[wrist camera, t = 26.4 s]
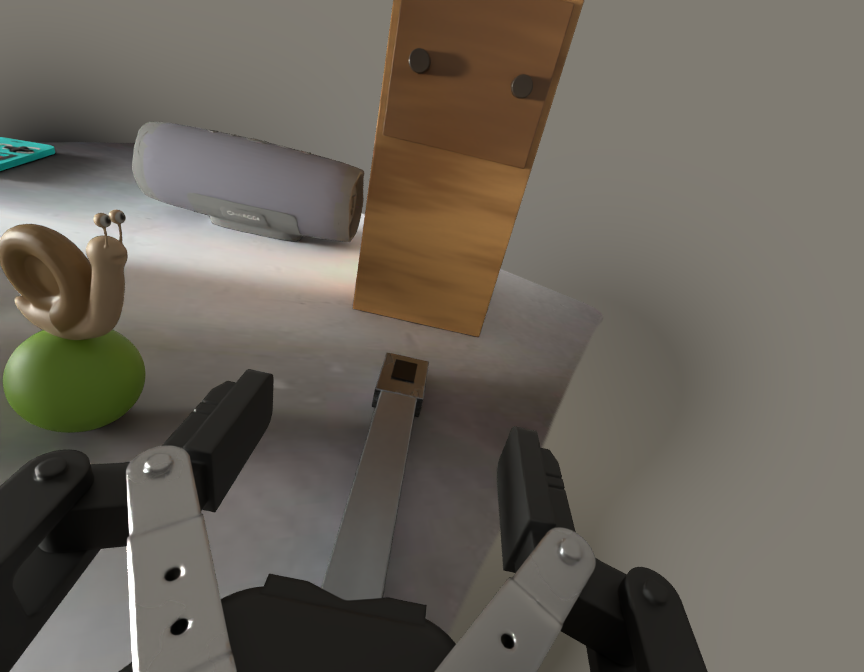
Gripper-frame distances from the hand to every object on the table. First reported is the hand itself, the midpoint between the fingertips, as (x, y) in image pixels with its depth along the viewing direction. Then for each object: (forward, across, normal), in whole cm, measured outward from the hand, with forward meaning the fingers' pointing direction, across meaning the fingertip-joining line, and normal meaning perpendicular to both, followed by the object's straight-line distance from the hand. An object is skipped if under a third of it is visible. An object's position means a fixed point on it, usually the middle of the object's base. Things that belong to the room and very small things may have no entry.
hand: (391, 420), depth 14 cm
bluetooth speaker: (+38, -21, -9) cm, 44 cm away
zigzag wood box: (+31, 0, -9) cm, 33 cm away
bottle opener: (+6, 0, -9) cm, 11 cm away
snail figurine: (+5, -15, -9) cm, 19 cm away
